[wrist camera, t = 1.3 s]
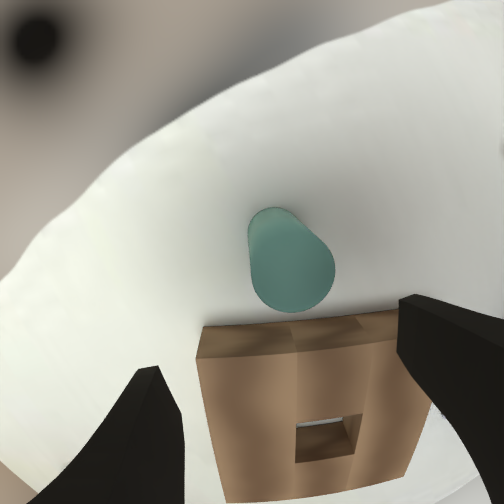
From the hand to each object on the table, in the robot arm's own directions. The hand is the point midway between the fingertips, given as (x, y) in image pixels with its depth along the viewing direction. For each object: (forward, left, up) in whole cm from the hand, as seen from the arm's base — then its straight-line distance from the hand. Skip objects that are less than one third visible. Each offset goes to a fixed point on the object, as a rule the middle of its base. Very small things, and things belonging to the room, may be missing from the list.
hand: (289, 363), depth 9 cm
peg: (-1, -1, -12) cm, 12 cm away
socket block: (-4, +13, -12) cm, 18 cm away
